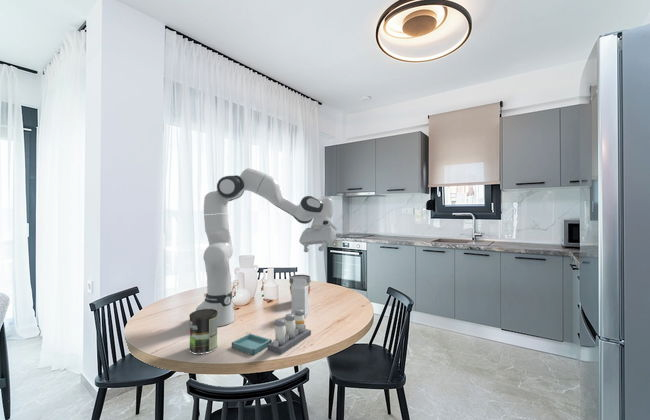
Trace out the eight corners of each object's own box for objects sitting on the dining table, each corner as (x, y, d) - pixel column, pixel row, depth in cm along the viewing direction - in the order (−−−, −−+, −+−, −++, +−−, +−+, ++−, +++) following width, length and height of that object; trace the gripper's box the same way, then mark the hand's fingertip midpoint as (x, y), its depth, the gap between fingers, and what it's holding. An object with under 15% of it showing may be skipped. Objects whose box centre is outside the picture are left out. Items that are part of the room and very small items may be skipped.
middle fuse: (283, 337, 120) (283, 316, 120) (289, 334, 123) (289, 313, 123) (291, 340, 118) (291, 317, 118) (297, 336, 121) (297, 314, 121)
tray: (231, 347, 116) (231, 342, 116) (250, 338, 124) (250, 333, 124) (253, 355, 109) (253, 349, 109) (271, 344, 118) (271, 339, 118)
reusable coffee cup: (302, 307, 164) (302, 280, 163) (285, 303, 170) (284, 277, 170) (314, 301, 174) (314, 276, 174) (298, 297, 181) (297, 273, 181)
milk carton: (304, 318, 146) (304, 281, 146) (291, 317, 147) (291, 280, 147) (308, 313, 153) (308, 277, 153) (295, 313, 154) (295, 277, 154)
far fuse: (273, 344, 114) (272, 321, 114) (279, 340, 118) (279, 317, 118) (281, 346, 112) (280, 323, 112) (287, 342, 116) (287, 319, 116)
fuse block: (267, 349, 114) (267, 339, 114) (298, 331, 131) (298, 322, 131) (281, 354, 110) (281, 343, 110) (310, 334, 127) (310, 325, 127)
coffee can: (195, 358, 108) (195, 320, 108) (185, 348, 115) (185, 313, 115) (222, 348, 115) (222, 313, 115) (211, 340, 122) (211, 306, 122)
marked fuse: (293, 332, 125) (293, 311, 125) (298, 328, 129) (298, 308, 129) (300, 334, 123) (300, 312, 123) (306, 330, 127) (306, 310, 127)
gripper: (301, 225, 150) (293, 249, 143) (332, 220, 138) (325, 246, 131) (308, 231, 154) (301, 255, 147) (340, 227, 142) (333, 253, 135)
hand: (312, 251), depth 139 cm, fingers open, 8 cm apart
